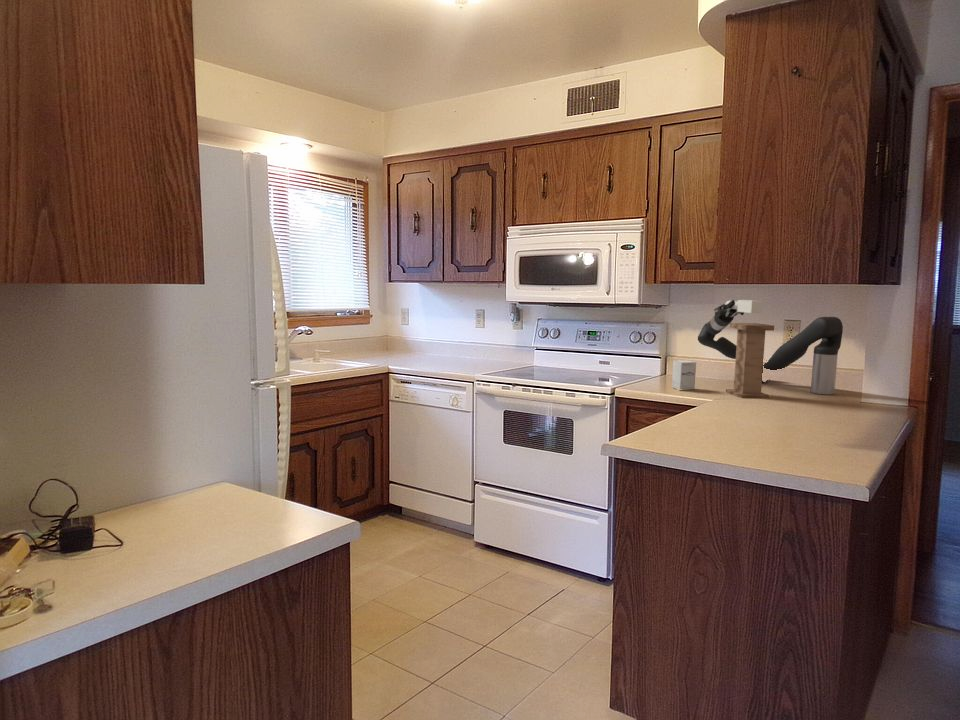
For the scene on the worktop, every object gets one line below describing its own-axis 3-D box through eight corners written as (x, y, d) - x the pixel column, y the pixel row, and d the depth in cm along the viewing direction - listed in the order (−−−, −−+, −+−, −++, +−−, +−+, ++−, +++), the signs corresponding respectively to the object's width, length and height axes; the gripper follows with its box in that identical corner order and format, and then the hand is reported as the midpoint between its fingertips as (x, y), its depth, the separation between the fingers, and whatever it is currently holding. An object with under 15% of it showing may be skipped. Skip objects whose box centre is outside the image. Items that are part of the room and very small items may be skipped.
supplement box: (679, 390, 283) (681, 362, 282) (671, 388, 290) (672, 360, 289) (695, 390, 285) (696, 362, 283) (686, 387, 292) (688, 359, 290)
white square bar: (723, 310, 291) (724, 298, 291) (734, 310, 292) (734, 299, 291) (751, 313, 267) (751, 300, 266) (762, 313, 267) (763, 301, 266)
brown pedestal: (725, 392, 282) (730, 322, 278) (752, 392, 283) (757, 323, 279) (741, 398, 268) (746, 325, 264) (769, 398, 269) (774, 325, 265)
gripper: (738, 327, 298) (755, 309, 282) (708, 326, 296) (724, 309, 281) (735, 312, 301) (752, 294, 285) (705, 312, 299) (721, 294, 284)
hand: (738, 302), depth 283 cm, fingers closed on white square bar, 3 cm apart
